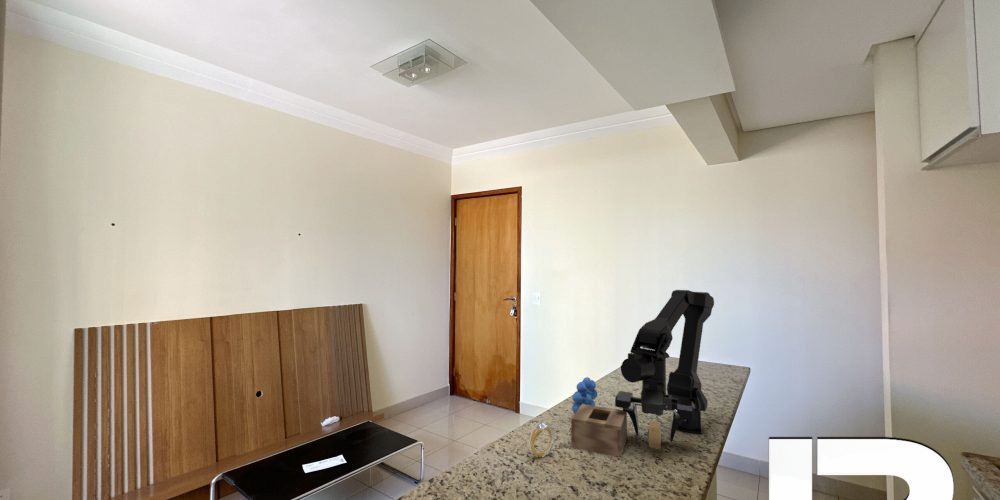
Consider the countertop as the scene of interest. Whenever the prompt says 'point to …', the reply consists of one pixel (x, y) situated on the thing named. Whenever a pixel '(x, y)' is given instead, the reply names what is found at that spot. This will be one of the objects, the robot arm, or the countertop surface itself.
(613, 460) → the countertop surface
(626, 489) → the countertop surface
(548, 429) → the ring
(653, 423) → the tan flat block
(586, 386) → the grapes
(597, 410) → the box
